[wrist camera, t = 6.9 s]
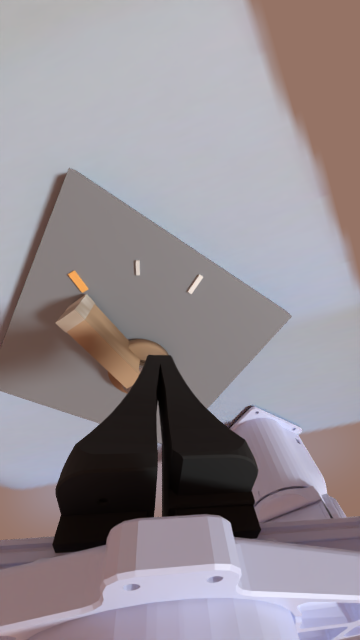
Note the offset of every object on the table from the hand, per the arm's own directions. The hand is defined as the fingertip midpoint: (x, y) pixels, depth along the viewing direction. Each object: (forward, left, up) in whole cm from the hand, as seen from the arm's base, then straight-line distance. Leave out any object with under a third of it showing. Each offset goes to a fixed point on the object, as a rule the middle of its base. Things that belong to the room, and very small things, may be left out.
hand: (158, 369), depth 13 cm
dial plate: (-1, +5, -10) cm, 12 cm away
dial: (+1, +5, -8) cm, 10 cm away
